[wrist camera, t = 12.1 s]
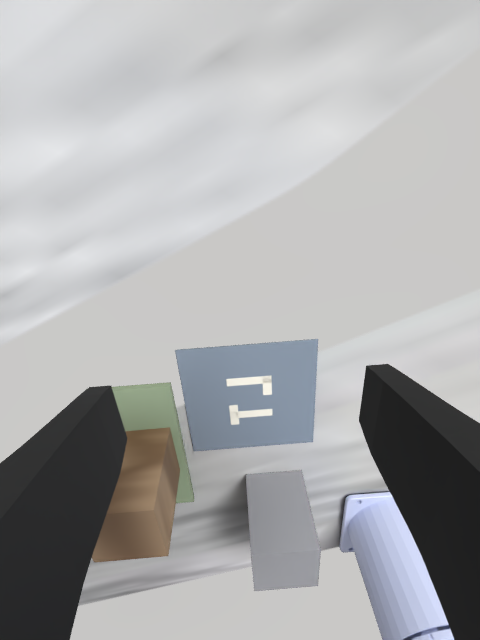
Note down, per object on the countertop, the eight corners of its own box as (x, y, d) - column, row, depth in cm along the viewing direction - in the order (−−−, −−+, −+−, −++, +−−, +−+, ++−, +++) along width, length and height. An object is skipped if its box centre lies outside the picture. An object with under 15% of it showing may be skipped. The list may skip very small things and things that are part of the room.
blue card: (317, 339, 21) (318, 339, 21) (312, 440, 25) (312, 442, 25) (175, 349, 21) (175, 350, 21) (193, 450, 25) (193, 451, 25)
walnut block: (169, 427, 23) (153, 510, 18) (180, 470, 25) (168, 555, 20) (106, 432, 23) (71, 517, 18) (121, 475, 25) (94, 562, 20)
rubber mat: (170, 382, 22) (169, 386, 22) (194, 497, 27) (193, 501, 27) (86, 389, 22) (84, 393, 22) (127, 502, 27) (125, 507, 27)
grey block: (301, 469, 27) (320, 549, 21) (300, 504, 29) (318, 585, 23) (245, 474, 27) (251, 555, 21) (248, 508, 29) (254, 591, 23)
